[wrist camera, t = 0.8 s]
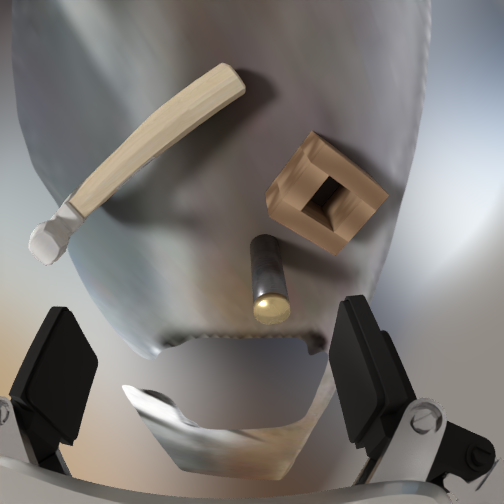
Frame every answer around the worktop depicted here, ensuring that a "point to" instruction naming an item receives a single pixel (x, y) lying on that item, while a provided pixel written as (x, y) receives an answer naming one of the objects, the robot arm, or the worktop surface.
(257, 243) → the dark grey capped cylinder
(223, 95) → the hammer
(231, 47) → the worktop surface
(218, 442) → the worktop surface
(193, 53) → the worktop surface
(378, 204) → the socket block
